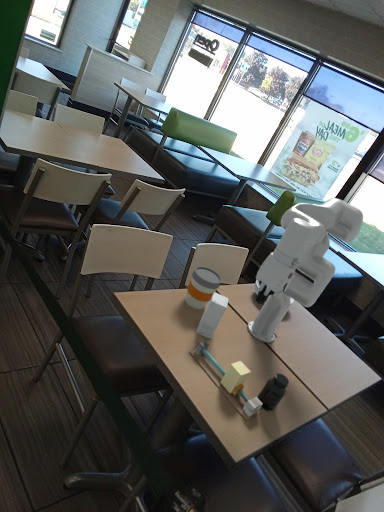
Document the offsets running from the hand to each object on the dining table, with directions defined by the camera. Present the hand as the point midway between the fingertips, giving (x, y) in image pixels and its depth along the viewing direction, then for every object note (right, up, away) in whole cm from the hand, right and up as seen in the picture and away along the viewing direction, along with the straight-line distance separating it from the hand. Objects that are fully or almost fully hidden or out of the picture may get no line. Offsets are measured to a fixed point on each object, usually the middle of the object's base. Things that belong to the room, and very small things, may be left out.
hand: (259, 301), depth 129 cm
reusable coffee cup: (-21, -5, +39) cm, 45 cm away
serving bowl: (+17, -8, +69) cm, 71 cm away
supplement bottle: (+2, -35, +2) cm, 35 cm away
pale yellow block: (-10, -29, +1) cm, 31 cm away
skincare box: (-18, -14, +24) cm, 33 cm away
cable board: (-12, -27, +3) cm, 30 cm away
